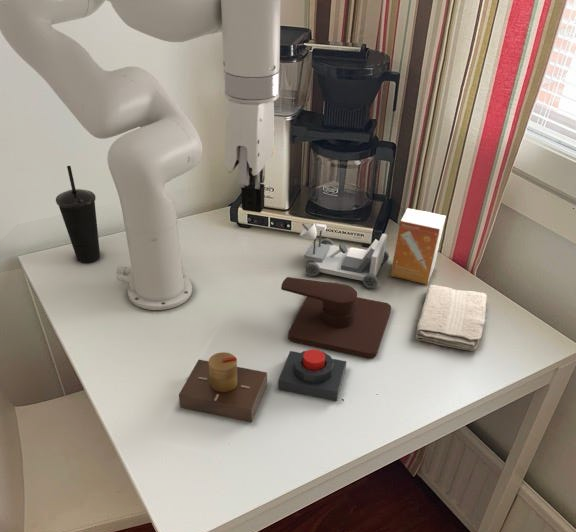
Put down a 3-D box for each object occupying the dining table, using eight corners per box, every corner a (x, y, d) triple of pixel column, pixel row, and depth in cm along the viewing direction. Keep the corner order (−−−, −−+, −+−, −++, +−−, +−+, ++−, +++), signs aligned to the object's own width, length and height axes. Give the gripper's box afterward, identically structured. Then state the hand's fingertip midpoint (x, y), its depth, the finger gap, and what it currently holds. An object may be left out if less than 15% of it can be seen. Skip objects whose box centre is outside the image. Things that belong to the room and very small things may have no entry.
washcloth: (413, 342, 112) (416, 329, 110) (425, 291, 125) (428, 278, 123) (479, 355, 110) (483, 342, 108) (484, 301, 123) (488, 288, 121)
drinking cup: (78, 246, 134) (58, 157, 121) (111, 250, 134) (95, 160, 120) (64, 265, 129) (41, 172, 115) (99, 268, 128) (80, 176, 115)
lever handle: (295, 258, 119) (397, 277, 115) (294, 290, 124) (391, 309, 120) (268, 304, 108) (380, 327, 103) (268, 337, 112) (374, 360, 108)
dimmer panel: (180, 408, 98) (178, 393, 96) (199, 372, 105) (198, 358, 103) (251, 422, 96) (251, 408, 94) (267, 385, 103) (267, 371, 101)
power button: (300, 368, 101) (301, 360, 99) (305, 355, 103) (306, 347, 102) (321, 372, 100) (322, 364, 99) (326, 359, 103) (327, 351, 101)
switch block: (278, 389, 102) (278, 371, 99) (289, 360, 108) (290, 342, 105) (336, 401, 100) (338, 383, 98) (345, 370, 106) (347, 352, 103)
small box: (390, 277, 129) (399, 220, 120) (397, 262, 133) (406, 206, 124) (427, 285, 127) (440, 228, 118) (434, 270, 131) (446, 214, 122)
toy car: (294, 230, 122) (311, 206, 131) (292, 272, 129) (309, 246, 137) (382, 247, 118) (394, 221, 127) (376, 290, 125) (388, 262, 133)
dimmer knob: (212, 394, 96) (210, 370, 93) (208, 376, 99) (206, 352, 96) (240, 389, 97) (239, 366, 94) (234, 372, 100) (233, 348, 97)
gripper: (242, 66, 89) (244, 186, 102) (207, 98, 79) (214, 227, 91) (291, 71, 88) (288, 192, 101) (262, 104, 77) (262, 235, 90)
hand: (253, 209), depth 96 cm, fingers closed
